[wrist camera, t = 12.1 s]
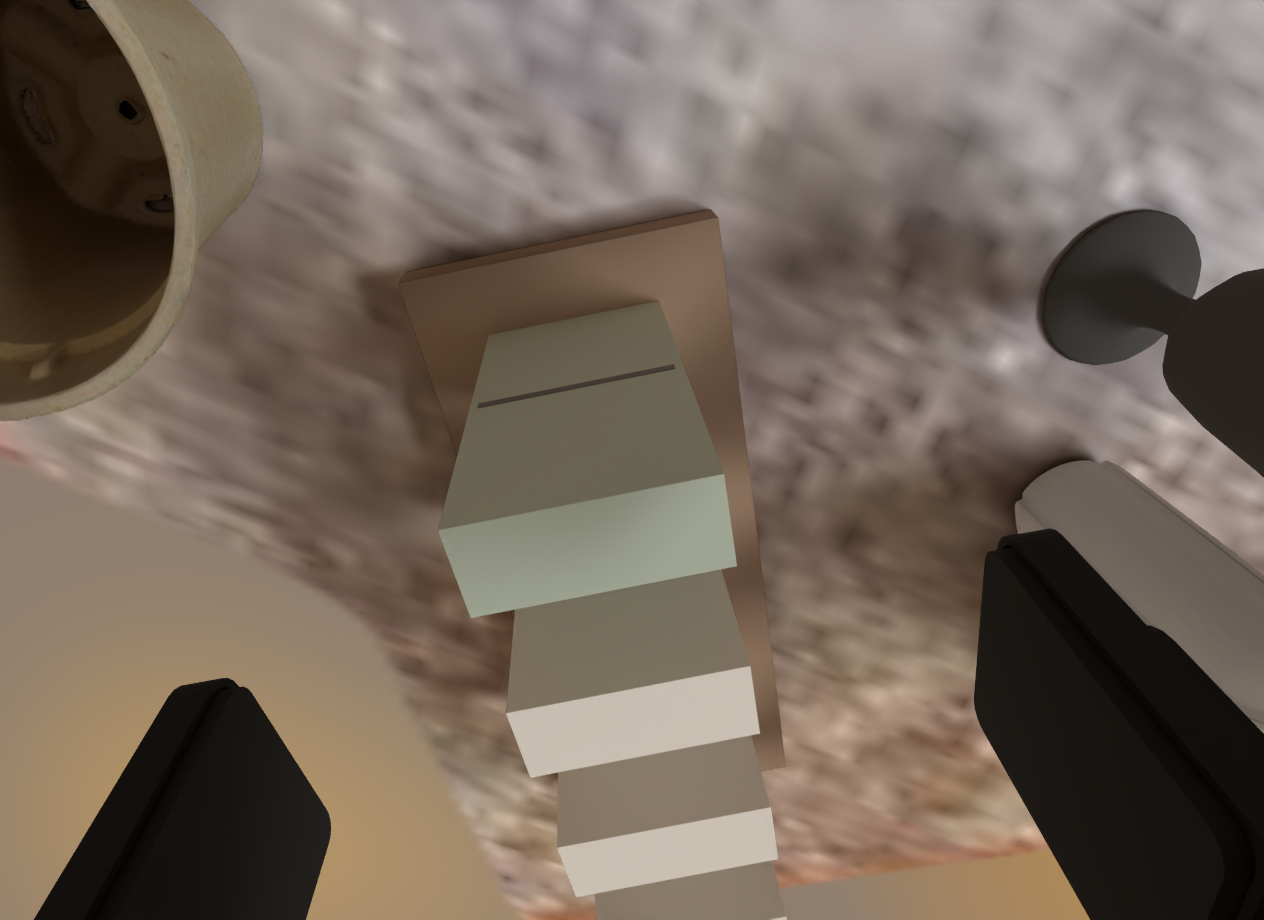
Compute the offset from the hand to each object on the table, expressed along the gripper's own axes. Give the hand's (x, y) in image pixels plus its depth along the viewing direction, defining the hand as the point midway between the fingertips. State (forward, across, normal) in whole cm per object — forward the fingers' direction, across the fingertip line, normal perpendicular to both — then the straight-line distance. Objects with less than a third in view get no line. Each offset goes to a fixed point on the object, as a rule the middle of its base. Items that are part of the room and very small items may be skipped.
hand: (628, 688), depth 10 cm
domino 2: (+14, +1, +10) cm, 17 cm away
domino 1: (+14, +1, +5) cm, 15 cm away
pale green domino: (+14, +1, +1) cm, 14 cm away
